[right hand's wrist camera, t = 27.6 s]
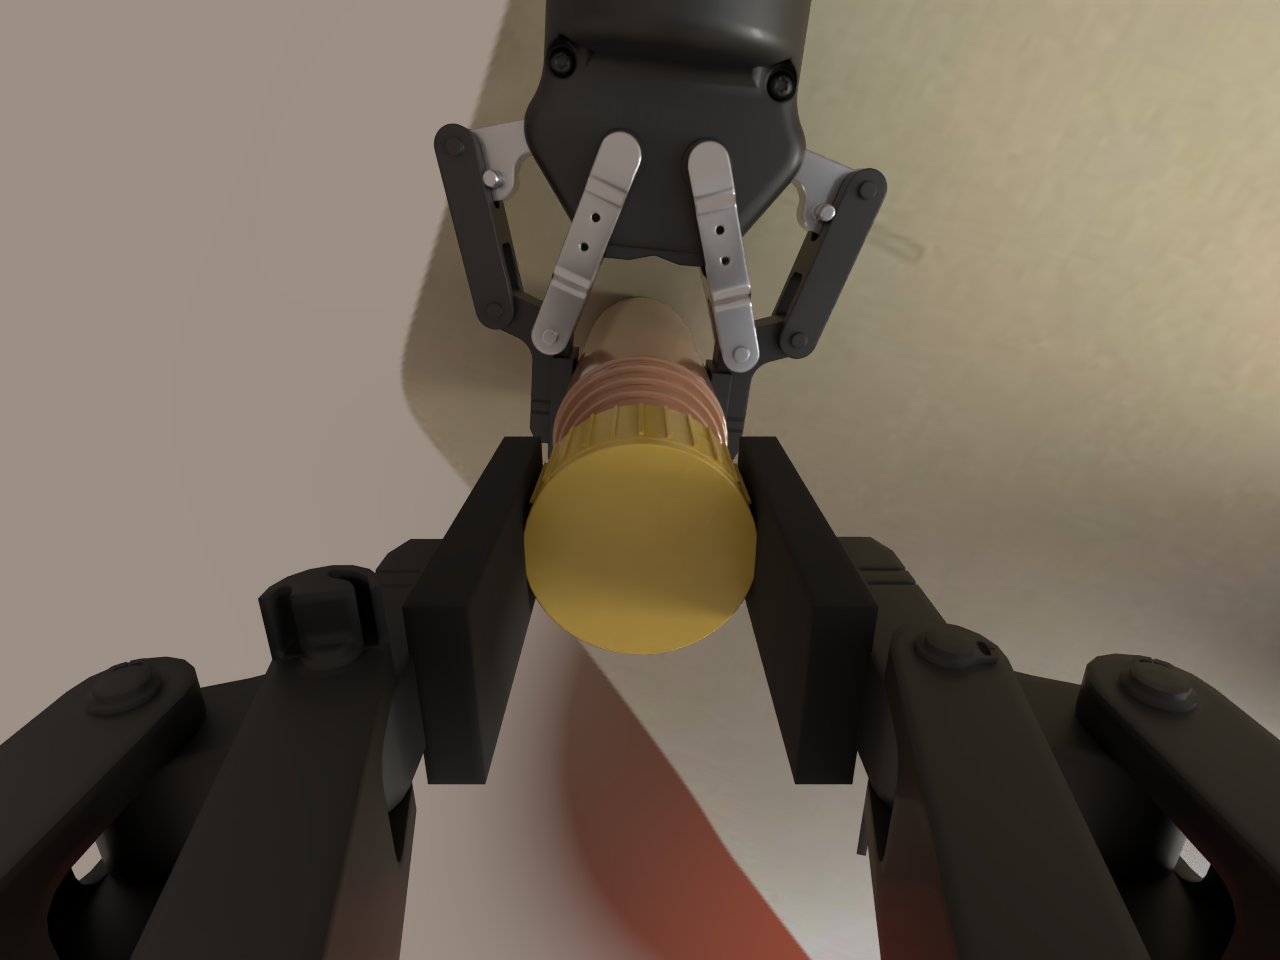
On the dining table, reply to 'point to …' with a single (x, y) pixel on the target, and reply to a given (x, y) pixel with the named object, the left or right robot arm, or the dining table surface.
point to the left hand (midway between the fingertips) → (634, 458)
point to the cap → (640, 531)
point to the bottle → (640, 368)
